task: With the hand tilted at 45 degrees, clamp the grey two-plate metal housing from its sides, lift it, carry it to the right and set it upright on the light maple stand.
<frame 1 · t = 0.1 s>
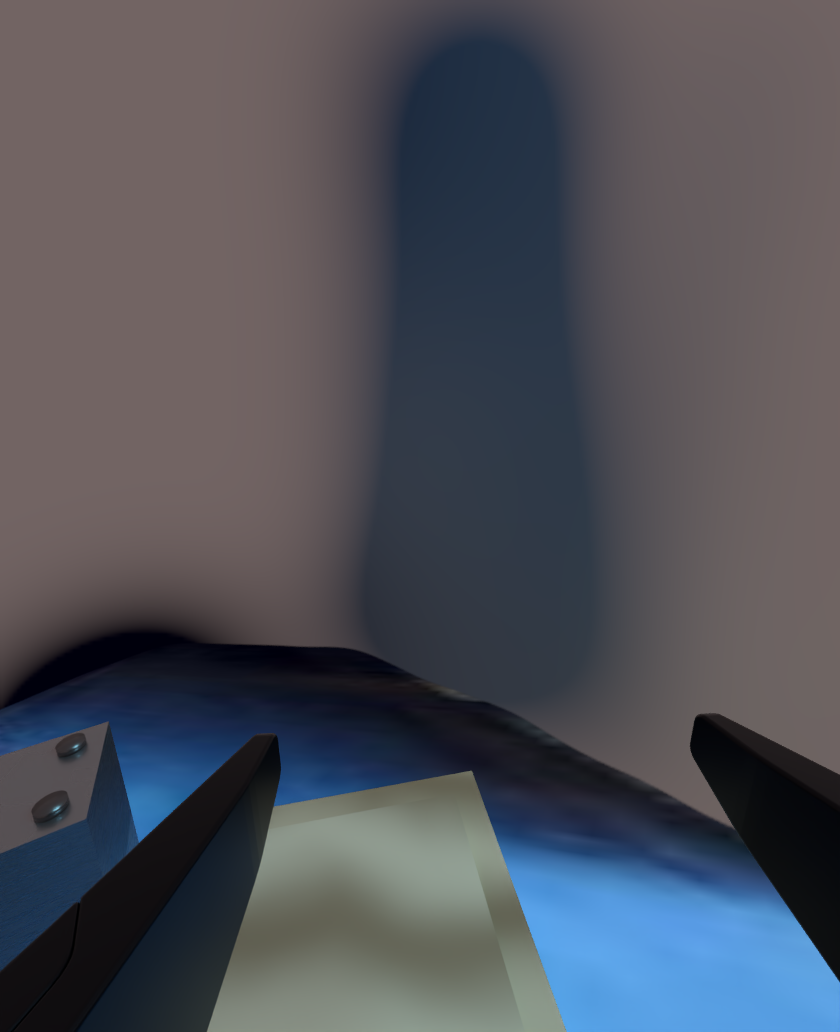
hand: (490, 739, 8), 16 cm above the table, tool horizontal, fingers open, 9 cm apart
stand: (363, 979, 17), on the table
housing: (70, 1001, 16), on the table
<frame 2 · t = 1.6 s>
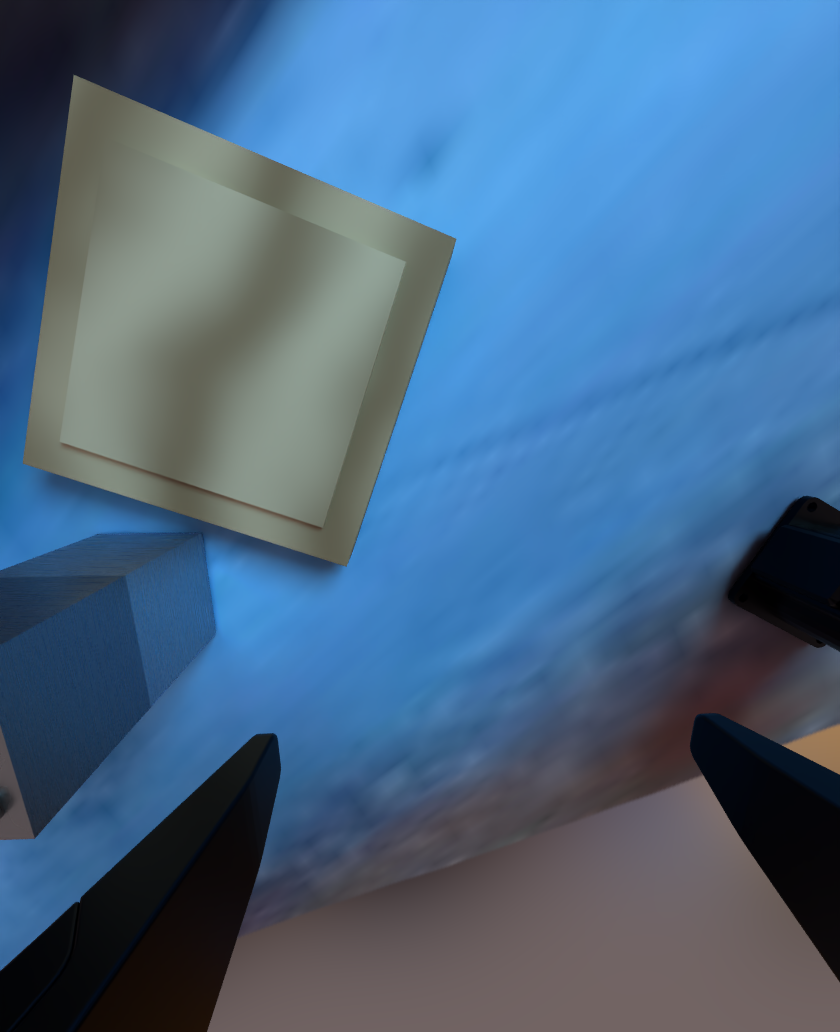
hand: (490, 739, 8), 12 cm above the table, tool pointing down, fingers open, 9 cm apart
stand: (249, 363, 18), on the table
housing: (159, 585, 20), on the table
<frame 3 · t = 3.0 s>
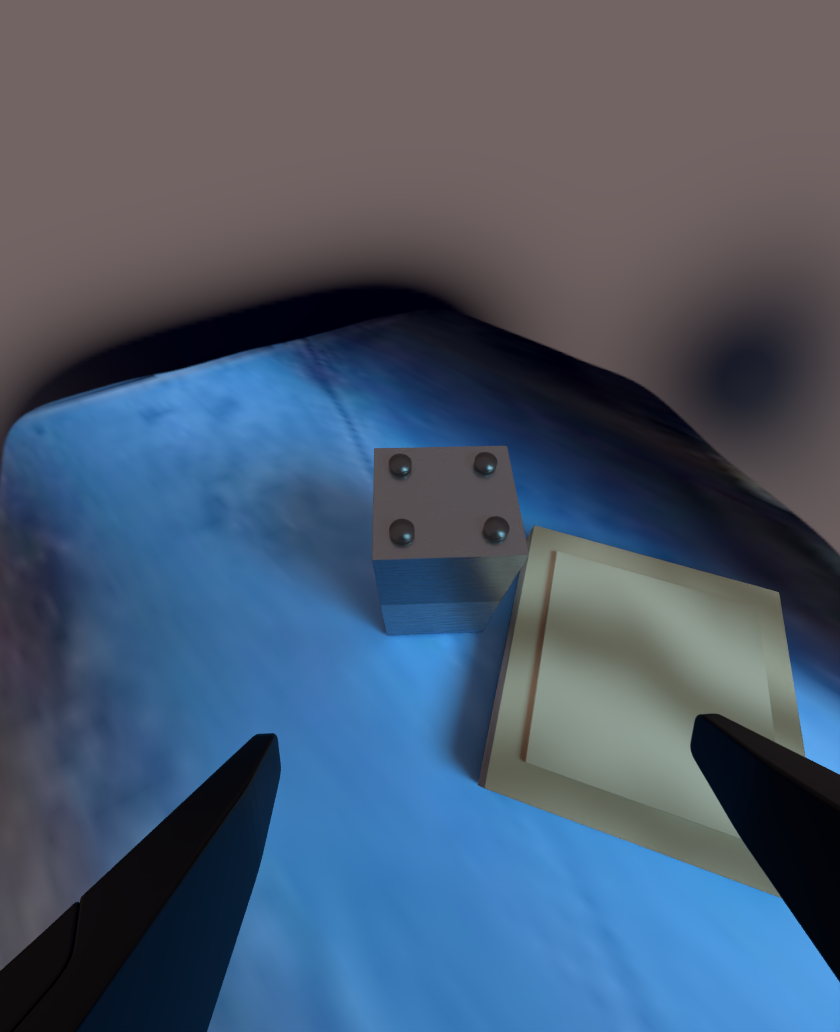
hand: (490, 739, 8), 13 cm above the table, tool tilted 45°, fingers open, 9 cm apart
stand: (631, 683, 22), on the table
housing: (432, 592, 24), on the table
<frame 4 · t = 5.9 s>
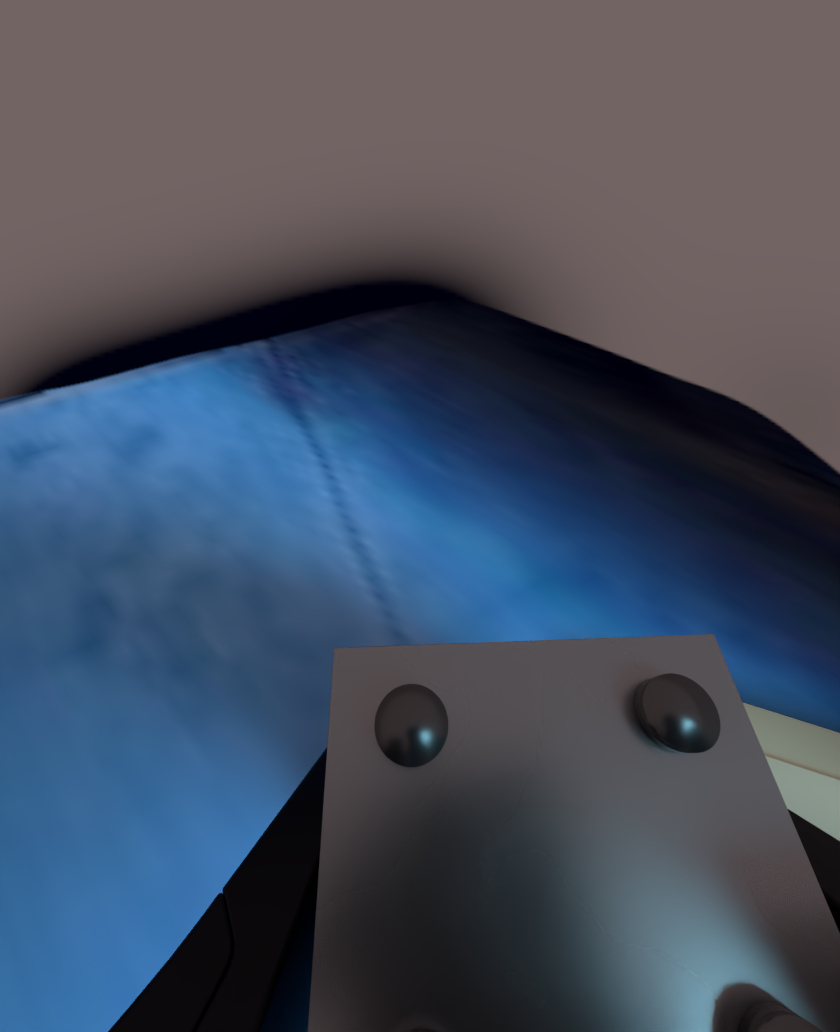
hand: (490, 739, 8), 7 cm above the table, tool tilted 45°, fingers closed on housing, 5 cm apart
housing: (460, 793, 13), on the table, touching gripper
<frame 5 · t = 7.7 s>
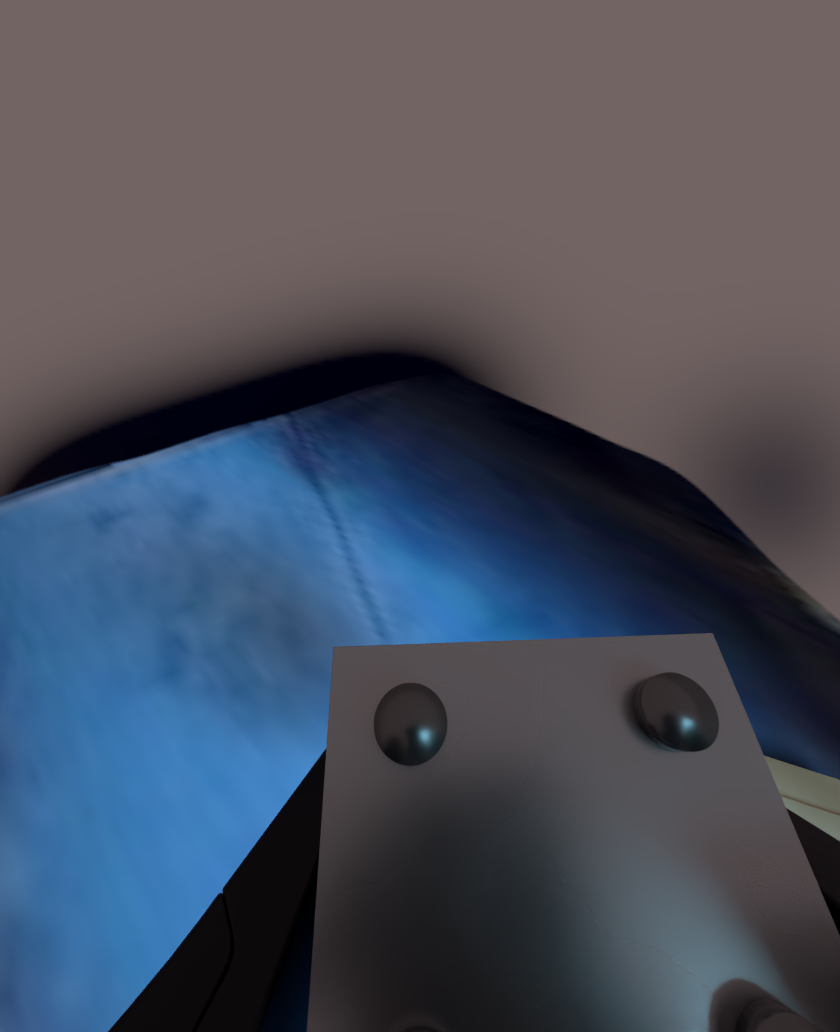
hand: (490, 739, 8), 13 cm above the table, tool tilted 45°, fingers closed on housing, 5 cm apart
stand: (696, 921, 17), on the table
housing: (460, 793, 13), point 7 cm above the table, touching gripper
when the fingers open (10 cm above the table, at t = 9.8 s): housing drops 1 cm, resting on stand.
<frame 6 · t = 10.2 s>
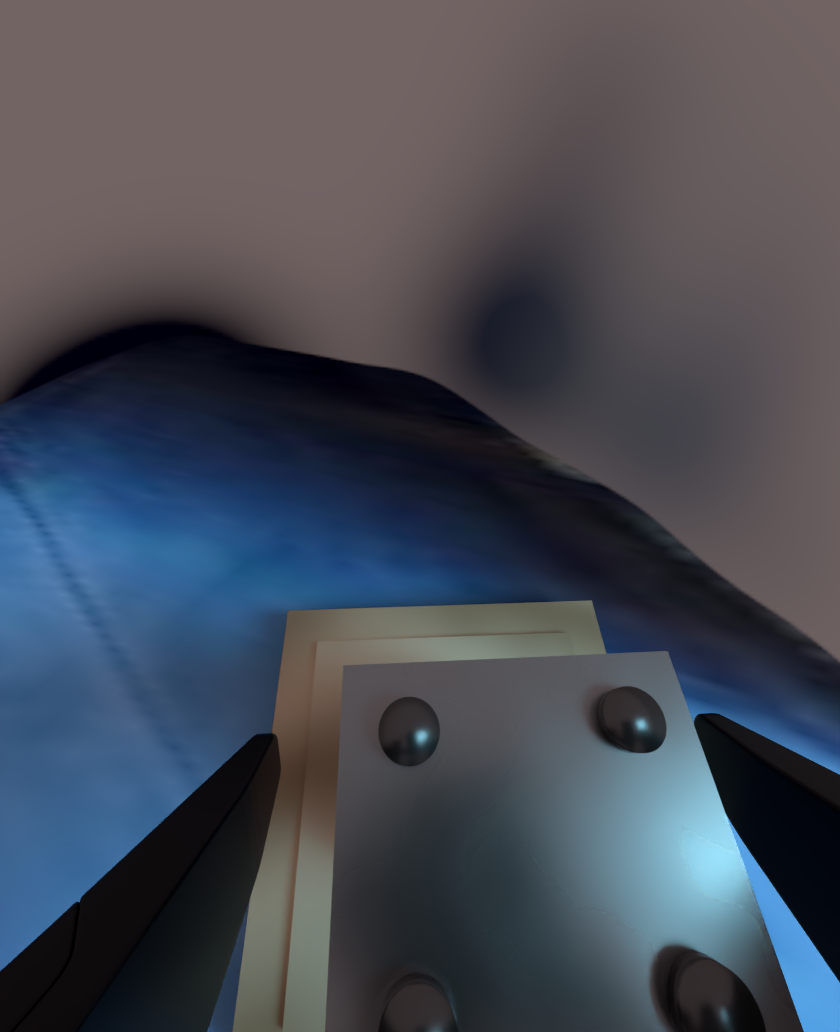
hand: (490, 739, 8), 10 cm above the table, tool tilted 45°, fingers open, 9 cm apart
stand: (450, 786, 16), on the table
housing: (456, 790, 14), point 2 cm above the table, touching stand
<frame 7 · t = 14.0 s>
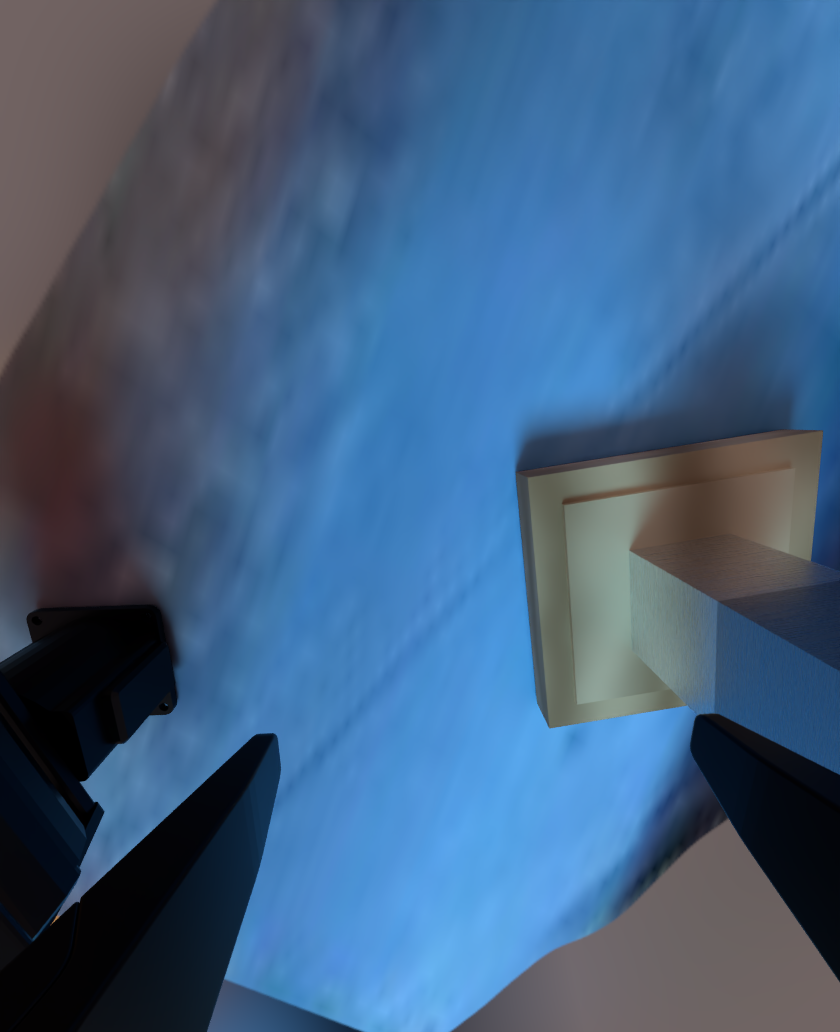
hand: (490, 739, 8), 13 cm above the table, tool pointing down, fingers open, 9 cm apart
stand: (651, 576, 22), on the table
housing: (679, 593, 20), point 2 cm above the table, touching stand
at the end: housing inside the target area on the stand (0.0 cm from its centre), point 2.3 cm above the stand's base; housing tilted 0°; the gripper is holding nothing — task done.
